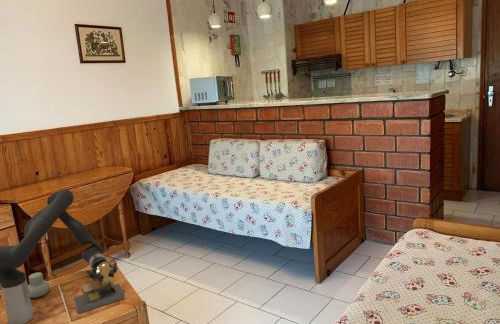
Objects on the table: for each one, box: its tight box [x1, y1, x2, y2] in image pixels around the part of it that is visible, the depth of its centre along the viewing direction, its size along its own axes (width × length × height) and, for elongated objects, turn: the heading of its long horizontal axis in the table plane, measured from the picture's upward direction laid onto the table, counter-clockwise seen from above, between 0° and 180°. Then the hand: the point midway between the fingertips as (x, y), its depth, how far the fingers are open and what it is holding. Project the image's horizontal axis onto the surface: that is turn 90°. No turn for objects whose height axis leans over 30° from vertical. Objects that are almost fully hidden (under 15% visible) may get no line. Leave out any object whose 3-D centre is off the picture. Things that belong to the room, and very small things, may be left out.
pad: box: [81, 280, 102, 295], centre depth 189 cm, size 8×8×2 cm
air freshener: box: [27, 271, 51, 298], centre depth 188 cm, size 11×8×10 cm
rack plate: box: [73, 283, 126, 315], centre depth 179 cm, size 20×10×3 cm, turn 121°
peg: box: [98, 261, 113, 291], centre depth 179 cm, size 4×4×12 cm
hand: (106, 277), depth 176 cm, fingers closed on peg, 4 cm apart
